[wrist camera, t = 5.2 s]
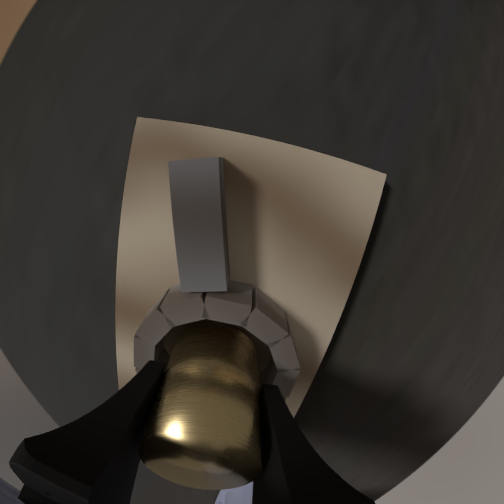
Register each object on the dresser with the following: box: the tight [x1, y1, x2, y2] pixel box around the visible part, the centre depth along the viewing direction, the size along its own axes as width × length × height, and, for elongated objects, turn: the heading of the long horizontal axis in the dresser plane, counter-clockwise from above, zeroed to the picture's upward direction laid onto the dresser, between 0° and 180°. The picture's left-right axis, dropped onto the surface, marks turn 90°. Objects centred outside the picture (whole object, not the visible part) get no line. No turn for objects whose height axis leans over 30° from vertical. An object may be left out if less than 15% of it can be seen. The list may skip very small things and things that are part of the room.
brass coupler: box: [138, 323, 262, 490], centre depth 10 cm, size 4×4×6 cm
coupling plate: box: [116, 117, 386, 418], centre depth 14 cm, size 20×11×3 cm, turn 167°
